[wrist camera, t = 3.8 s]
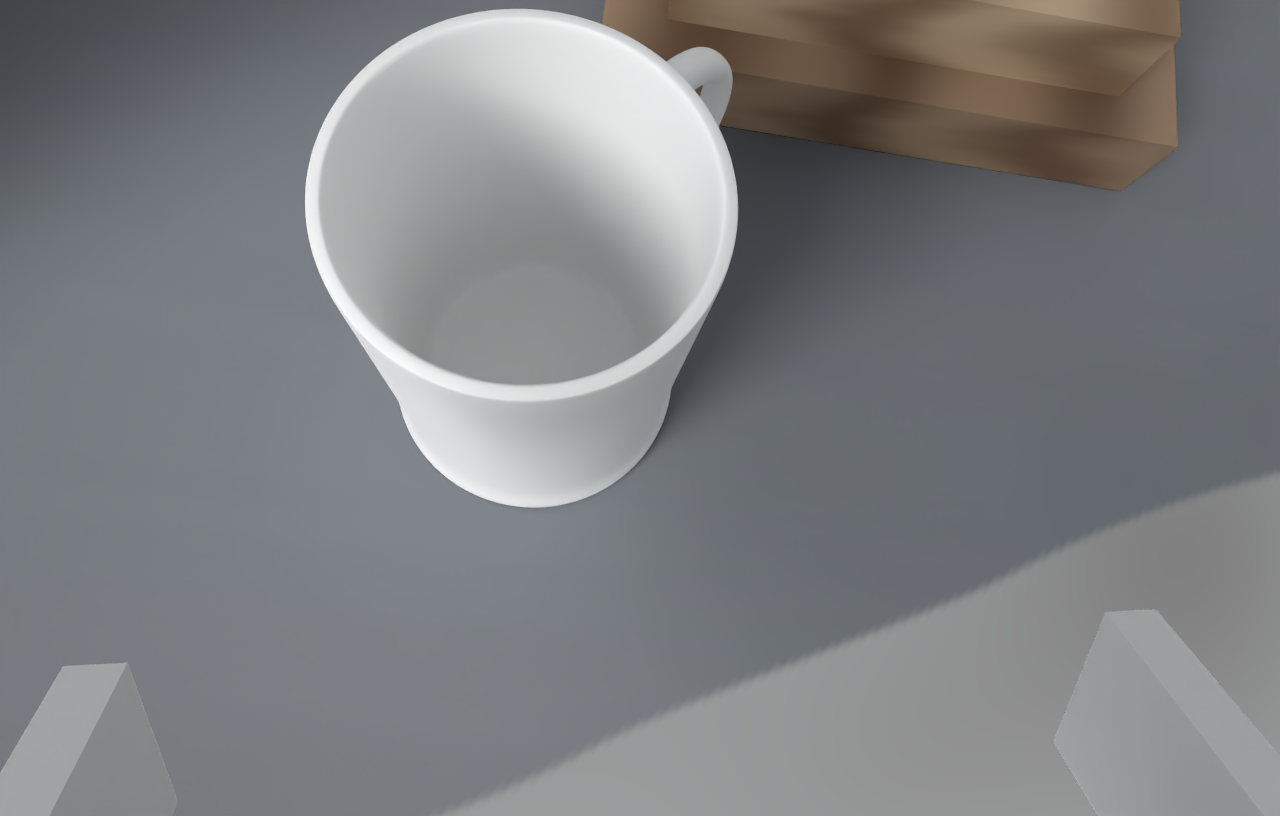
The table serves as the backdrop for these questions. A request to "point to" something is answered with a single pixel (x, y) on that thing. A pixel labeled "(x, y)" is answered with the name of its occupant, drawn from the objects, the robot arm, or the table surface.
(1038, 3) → the pedestal
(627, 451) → the mug
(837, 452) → the table surface
